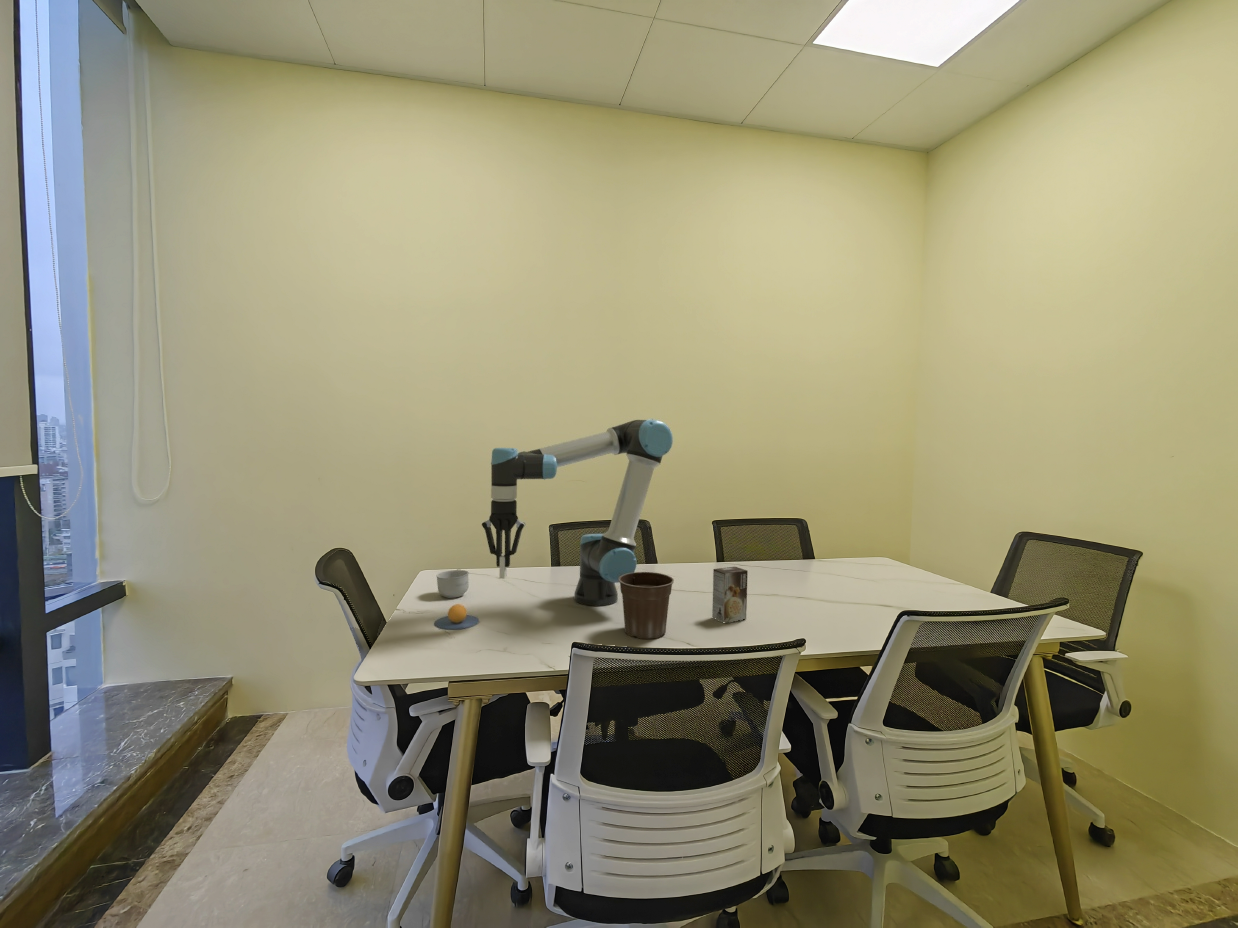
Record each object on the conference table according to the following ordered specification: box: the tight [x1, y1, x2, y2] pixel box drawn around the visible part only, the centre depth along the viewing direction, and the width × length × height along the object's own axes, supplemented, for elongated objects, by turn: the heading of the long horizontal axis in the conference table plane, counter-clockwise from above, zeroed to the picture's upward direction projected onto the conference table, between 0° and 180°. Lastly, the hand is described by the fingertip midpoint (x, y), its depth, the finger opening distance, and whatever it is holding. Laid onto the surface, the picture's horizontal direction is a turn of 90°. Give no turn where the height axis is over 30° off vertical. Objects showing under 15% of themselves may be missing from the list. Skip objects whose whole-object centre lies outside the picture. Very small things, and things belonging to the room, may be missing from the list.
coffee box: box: [711, 566, 749, 623], centre depth 184 cm, size 9×6×16 cm
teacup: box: [436, 568, 470, 599], centre depth 203 cm, size 14×11×8 cm
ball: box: [447, 603, 468, 623], centre depth 175 cm, size 6×6×6 cm
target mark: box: [434, 614, 480, 631], centre depth 175 cm, size 13×13×1 cm
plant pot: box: [618, 571, 675, 640], centre depth 170 cm, size 16×16×16 cm
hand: (503, 577), depth 174 cm, fingers closed
